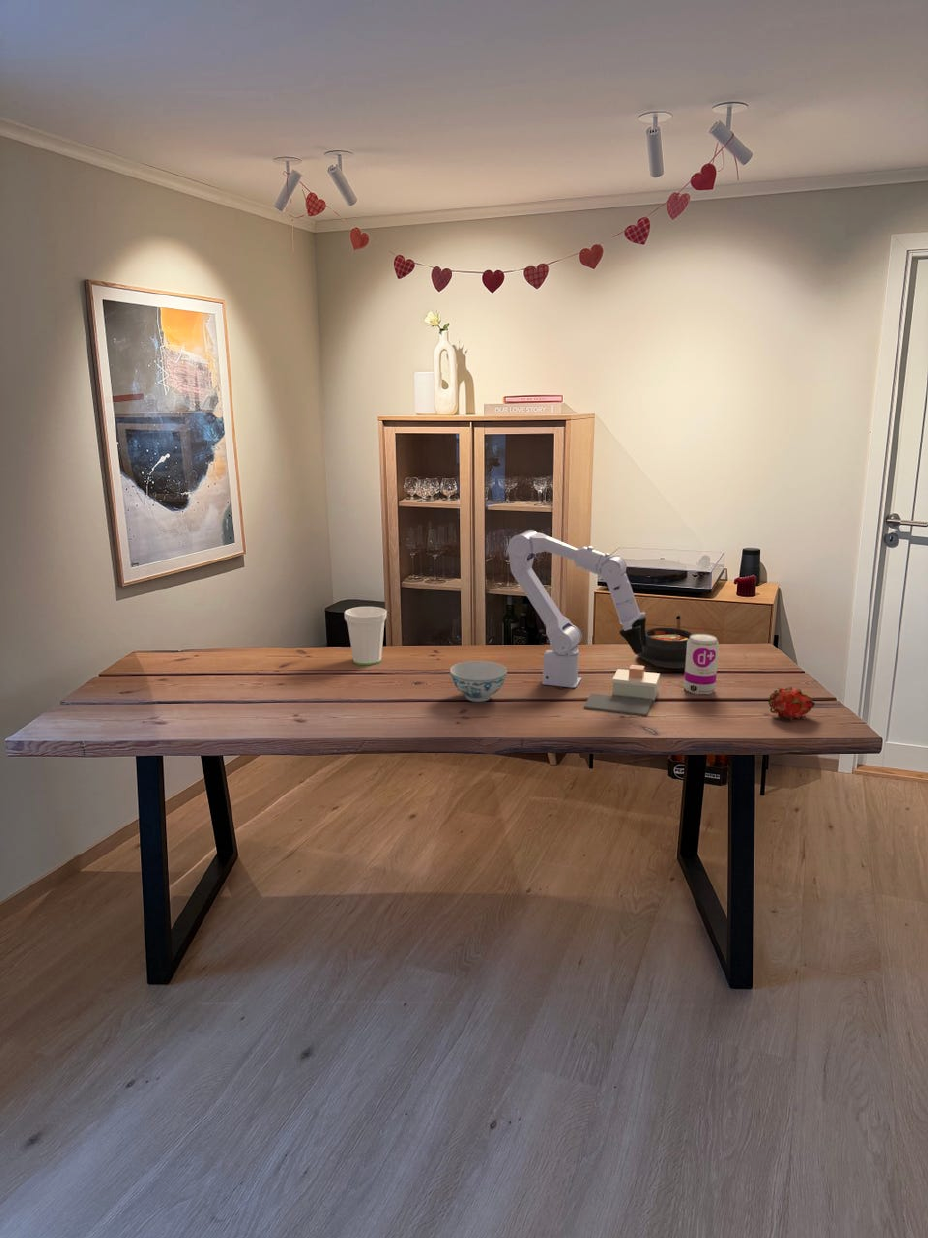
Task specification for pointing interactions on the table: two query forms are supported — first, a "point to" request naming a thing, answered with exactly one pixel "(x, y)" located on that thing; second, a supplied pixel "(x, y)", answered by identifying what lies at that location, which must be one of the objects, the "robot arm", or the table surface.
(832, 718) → the table surface
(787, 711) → the dragon fruit
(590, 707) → the mat
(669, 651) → the casserole
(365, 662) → the cup
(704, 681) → the supplement can
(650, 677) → the lid
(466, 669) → the chinaware
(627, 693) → the storage box
